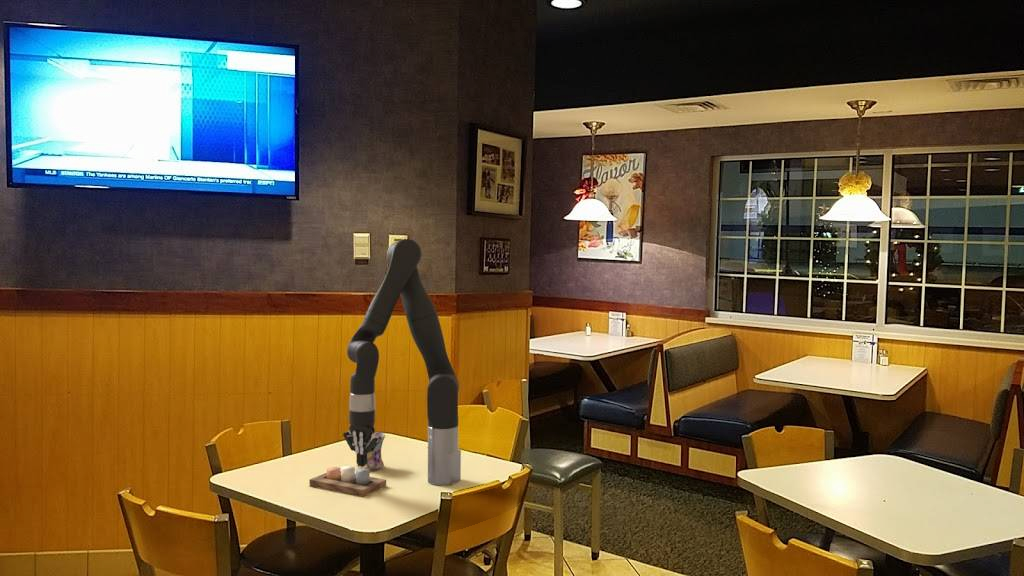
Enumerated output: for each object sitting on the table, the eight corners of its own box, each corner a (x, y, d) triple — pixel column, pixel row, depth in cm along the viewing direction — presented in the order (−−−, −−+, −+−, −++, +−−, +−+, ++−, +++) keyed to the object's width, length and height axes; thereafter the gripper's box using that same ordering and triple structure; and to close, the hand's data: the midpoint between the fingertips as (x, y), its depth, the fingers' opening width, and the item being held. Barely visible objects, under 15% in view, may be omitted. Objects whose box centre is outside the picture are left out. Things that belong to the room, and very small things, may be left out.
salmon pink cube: (343, 481, 240) (343, 468, 240) (334, 484, 237) (334, 471, 237) (332, 479, 242) (332, 466, 242) (323, 482, 239) (323, 469, 238)
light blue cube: (372, 482, 235) (372, 469, 235) (363, 486, 232) (363, 473, 231) (361, 480, 237) (361, 467, 237) (352, 484, 234) (352, 471, 233)
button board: (386, 486, 237) (386, 479, 237) (363, 496, 228) (363, 490, 227) (333, 476, 246) (333, 469, 246) (309, 486, 237) (309, 479, 237)
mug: (390, 465, 259) (390, 433, 258) (376, 473, 250) (376, 440, 249) (357, 461, 262) (357, 430, 262) (343, 469, 254) (342, 436, 253)
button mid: (357, 480, 238) (357, 467, 237) (348, 483, 234) (348, 470, 234) (346, 478, 240) (346, 465, 239) (338, 481, 236) (338, 468, 236)
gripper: (388, 408, 233) (387, 466, 234) (352, 402, 240) (352, 459, 241) (372, 413, 227) (371, 472, 228) (336, 407, 233) (335, 465, 234)
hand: (361, 465), depth 234 cm, fingers closed
